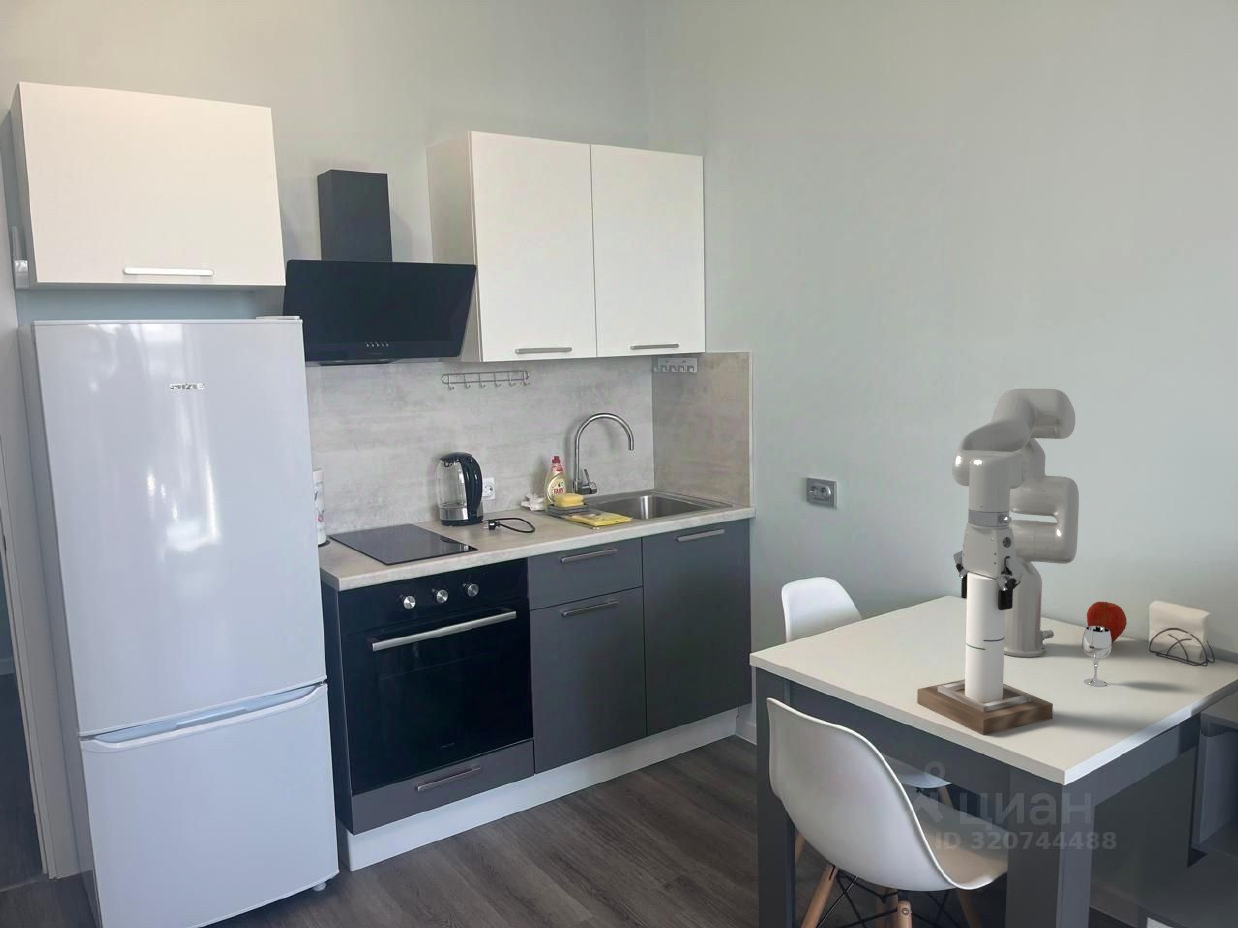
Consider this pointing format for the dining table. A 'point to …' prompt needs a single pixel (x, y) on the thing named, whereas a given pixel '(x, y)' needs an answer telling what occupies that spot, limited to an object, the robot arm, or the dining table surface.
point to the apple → (1107, 618)
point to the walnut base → (985, 707)
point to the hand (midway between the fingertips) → (986, 603)
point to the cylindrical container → (984, 640)
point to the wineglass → (1096, 648)
